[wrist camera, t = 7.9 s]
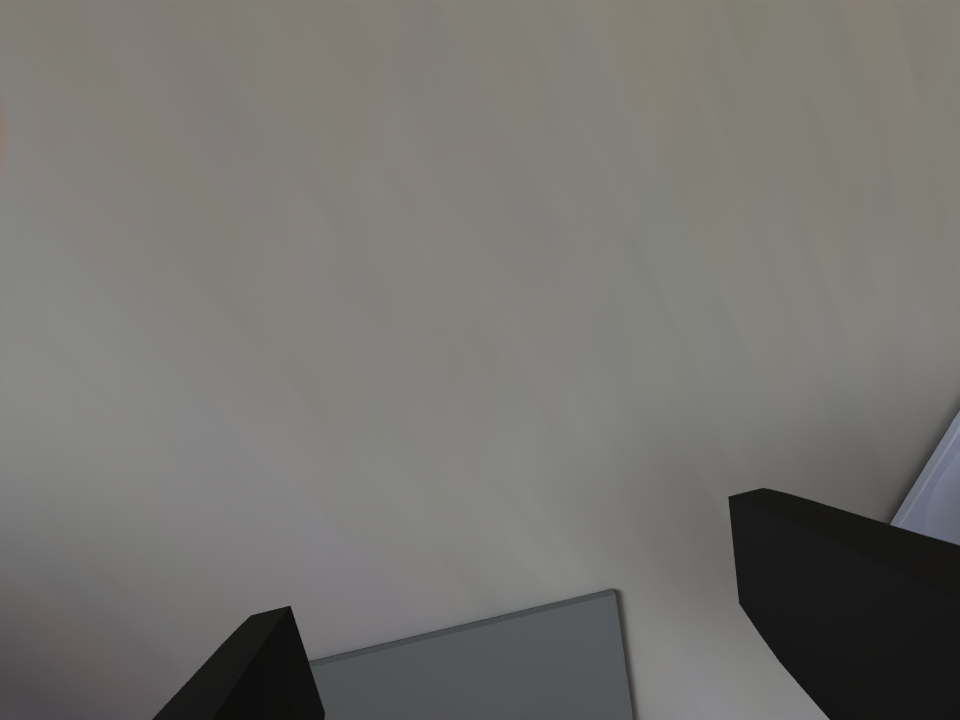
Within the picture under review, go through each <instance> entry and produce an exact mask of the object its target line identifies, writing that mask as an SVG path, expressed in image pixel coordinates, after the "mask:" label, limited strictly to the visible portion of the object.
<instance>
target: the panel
mask: <svg viewBox="0 0 960 720" xmlns="http://www.w3.org/2000/svg"><path fill="white" fill-rule="evenodd" d="M309 665H310V668H311V671H312V674H313V677H314V680H315V683H316V686H317V689H318V693H319V696H320V699H321V702H322V705H323V708H324V711H325V720H633V714H632V707H631V700H630V693H629V686H628V679H627V672H626V665H625V658H624V651H623V644H622V637H621V630H620V622H619V615H618V608H617V601H616V594H615V593H614V591H613V589H611V590H607V591H603V592H599V593H595V594H590V595H586V596H582V597H578V598H574V599H570V600H565V601H561V602H557V603H553V604H549V605H544V606H540V607H536V608H532V609H528V610H524V611H519V612H515V613H511V614H507V615H503V616H499V617H494V618H490V619H486V620H482V621H478V622H474V623H469V624H465V625H461V626H457V627H453V628H449V629H444V630H440V631H436V632H432V633H428V634H424V635H419V636H415V637H411V638H407V639H403V640H398V641H394V642H390V643H386V644H382V645H378V646H373V647H369V648H365V649H361V650H357V651H353V652H348V653H344V654H340V655H336V656H332V657H328V658H323V659H319V660H315V661H311V662H309Z"/></svg>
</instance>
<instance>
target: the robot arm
mask: <svg viewBox="0 0 960 720" xmlns="http://www.w3.org/2000/svg"><path fill="white" fill-rule="evenodd" d="M728 498H729V508H730V518H731V527H732V537H733V547H734V557H735V567H736V576H737V586H738V596H739V604H740V605H741V607H742V608H743V610H744V611H745V613H746V614H747V616H748V617H749V619H750V620H751V622H752V623H753V625H754V626H755V628H756V629H757V631H758V632H759V634H760V635H761V636H762V638H763V639H764V641H765V642H766V643H767V645H768V646H769V648H770V649H771V650H772V652H773V653H774V655H775V656H776V657H777V659H778V660H779V662H780V663H781V664H782V665H783V666H784V667H785V669H786V670H787V671H788V672H789V673H790V674H791V676H792V677H793V678H794V679H795V680H796V681H797V683H798V684H799V685H800V686H801V687H802V688H803V689H804V691H805V692H806V693H807V694H808V695H809V696H810V697H811V699H812V700H813V701H814V702H815V703H816V704H817V706H818V707H819V708H820V709H821V710H822V711H823V712H824V714H825V715H826V716H827V717H828V718H829V719H830V720H960V410H959V412H958V413H957V415H956V417H955V418H954V420H953V422H952V423H951V425H950V427H949V428H948V430H947V431H946V433H945V435H944V436H943V438H942V440H941V441H940V443H939V445H938V446H937V448H936V449H935V451H934V453H933V454H932V456H931V458H930V459H929V461H928V463H927V464H926V466H925V467H924V469H923V471H922V472H921V474H920V476H919V477H918V479H917V481H916V482H915V484H914V485H913V487H912V489H911V490H910V492H909V494H908V495H907V497H906V499H905V500H904V502H903V503H902V505H901V507H900V508H899V510H898V512H897V513H896V515H895V517H894V518H893V520H892V521H891V523H890V525H889V524H886V523H883V522H879V521H876V520H873V519H870V518H866V517H863V516H860V515H857V514H854V513H850V512H847V511H844V510H841V509H837V508H834V507H831V506H828V505H824V504H821V503H818V502H815V501H811V500H808V499H804V498H801V497H798V496H794V495H791V494H787V493H783V492H779V491H775V490H770V489H766V488H761V489H757V490H753V491H749V492H745V493H741V494H737V495H733V496H729V497H728ZM152 720H325V711H324V708H323V705H322V702H321V699H320V696H319V693H318V689H317V686H316V683H315V680H314V677H313V674H312V671H311V668H310V665H309V662H308V659H307V655H306V652H305V649H304V646H303V643H302V640H301V637H300V634H299V631H298V628H297V625H296V622H295V618H294V615H293V612H292V609H291V606H287V607H283V608H279V609H275V610H271V611H267V612H263V613H259V614H255V615H251V616H250V617H249V618H248V619H247V620H246V621H245V622H244V623H243V624H242V625H241V626H240V627H239V628H238V629H237V630H236V631H235V632H234V633H233V634H232V635H231V636H230V637H229V638H228V639H227V640H226V641H225V642H224V643H223V644H222V645H221V646H220V647H219V648H218V649H217V651H216V652H215V653H214V654H213V655H212V656H211V657H210V658H209V659H208V660H207V661H206V662H205V663H204V665H203V666H202V667H201V668H200V669H199V670H198V671H197V672H196V673H195V674H194V675H193V676H192V678H191V679H190V680H189V681H188V682H187V683H186V684H185V685H184V686H183V687H182V688H181V689H180V690H179V691H178V693H177V694H176V695H175V696H174V697H173V698H172V699H171V700H170V701H169V702H168V703H167V704H166V705H165V706H164V708H163V709H162V710H161V711H160V712H159V713H158V714H157V715H156V716H155V717H154V718H153V719H152Z"/></svg>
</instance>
